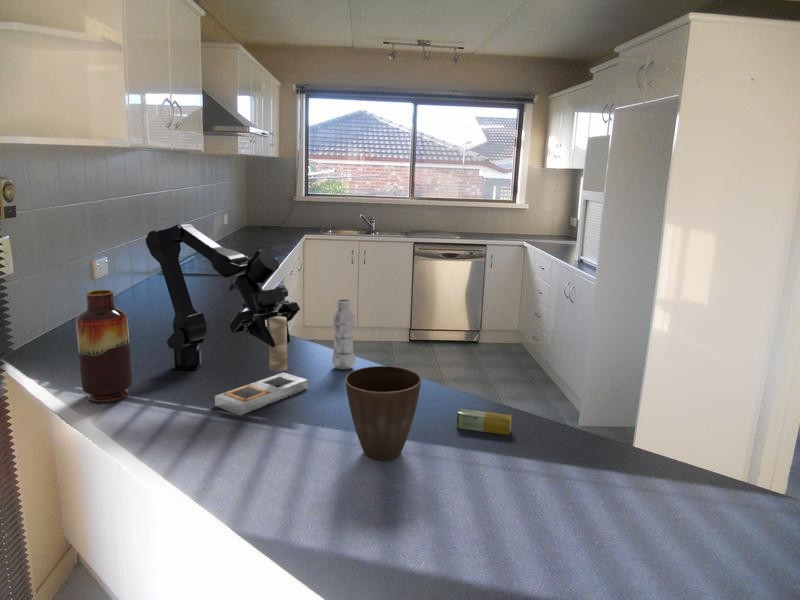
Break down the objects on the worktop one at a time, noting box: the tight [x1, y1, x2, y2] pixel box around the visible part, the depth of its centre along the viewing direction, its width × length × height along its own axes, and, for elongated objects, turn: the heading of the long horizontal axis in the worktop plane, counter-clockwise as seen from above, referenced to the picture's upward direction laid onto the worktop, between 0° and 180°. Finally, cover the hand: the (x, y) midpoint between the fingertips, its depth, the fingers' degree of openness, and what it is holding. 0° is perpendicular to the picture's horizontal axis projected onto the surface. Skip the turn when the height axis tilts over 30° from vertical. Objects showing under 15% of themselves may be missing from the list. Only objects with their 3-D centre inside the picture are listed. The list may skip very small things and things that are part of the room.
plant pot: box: [344, 365, 422, 462], centre depth 119 cm, size 15×15×16 cm
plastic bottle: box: [331, 298, 356, 370], centre depth 170 cm, size 6×7×20 cm
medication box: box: [455, 408, 512, 436], centre depth 133 cm, size 12×3×4 cm, turn 75°
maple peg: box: [268, 316, 288, 372], centre depth 150 cm, size 4×4×13 cm
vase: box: [75, 289, 133, 404], centre depth 144 cm, size 11×11×26 cm
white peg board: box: [214, 371, 309, 416], centre depth 149 cm, size 22×9×3 cm, turn 144°
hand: (281, 344), depth 149 cm, fingers closed on maple peg, 4 cm apart
